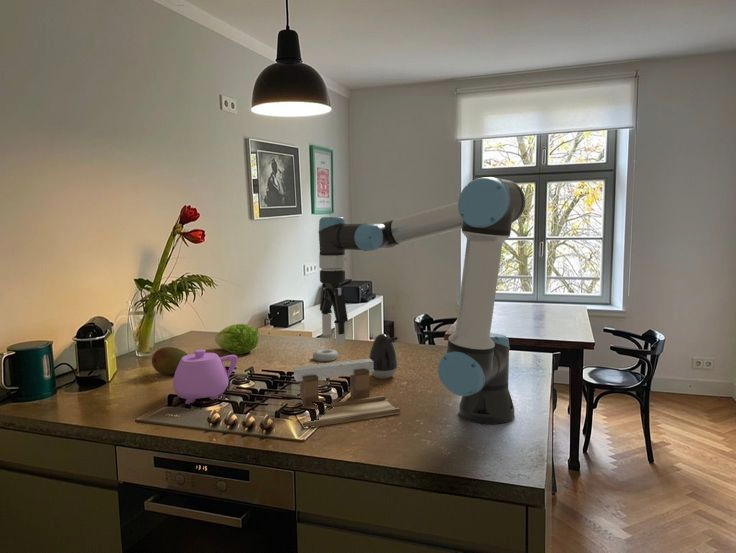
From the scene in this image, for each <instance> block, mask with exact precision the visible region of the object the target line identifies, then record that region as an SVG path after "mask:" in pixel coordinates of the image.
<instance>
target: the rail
mask: <svg viewBox="0 0 736 553" xmlns="http://www.w3.org/2000/svg"><path fill="white" fill-rule="evenodd" d="M362 370H369V374H372V372H374V361H372V360H371V359H369V358H362V359H361V358H360V359H353V360H344V361H335V362H326V363H319V364H318V363H317V364H309V365H308V364H307V365H302V366H300V365H299V366H294V367H293V377H294V380H295V382H297V383H300V381H304V378H305V377H313V376H318V380H325V379H330V378H331V379H332V378H338V377H347V376H350V375H356V371H362Z"/></svg>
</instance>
